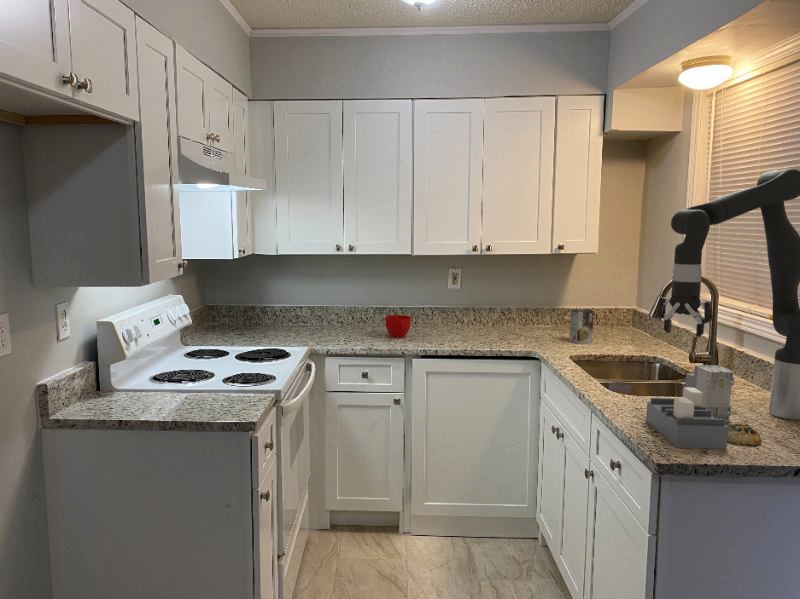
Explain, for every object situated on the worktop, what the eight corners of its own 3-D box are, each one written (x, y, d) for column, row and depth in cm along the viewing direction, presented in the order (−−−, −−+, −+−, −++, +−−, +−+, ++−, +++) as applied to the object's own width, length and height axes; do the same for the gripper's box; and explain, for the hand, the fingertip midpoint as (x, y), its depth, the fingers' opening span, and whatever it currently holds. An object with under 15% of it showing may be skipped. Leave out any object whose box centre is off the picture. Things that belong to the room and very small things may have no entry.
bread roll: (740, 430, 162) (743, 414, 161) (770, 450, 152) (773, 433, 150) (705, 433, 161) (707, 417, 159) (732, 453, 150) (735, 436, 149)
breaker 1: (692, 404, 165) (694, 387, 164) (701, 409, 160) (702, 392, 159) (682, 404, 165) (683, 387, 164) (690, 409, 160) (691, 392, 159)
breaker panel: (690, 422, 168) (692, 397, 167) (726, 448, 148) (729, 421, 147) (645, 421, 169) (647, 396, 168) (675, 447, 149) (678, 419, 148)
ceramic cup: (389, 341, 275) (390, 320, 274) (382, 334, 292) (382, 315, 290) (415, 340, 278) (416, 320, 277) (407, 333, 295) (407, 314, 293)
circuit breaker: (703, 405, 184) (707, 360, 182) (730, 421, 170) (734, 372, 168) (680, 405, 184) (684, 360, 182) (705, 420, 170) (710, 372, 168)
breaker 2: (684, 415, 155) (685, 397, 155) (692, 421, 150) (694, 403, 150) (673, 414, 155) (674, 397, 155) (681, 421, 150) (682, 402, 150)
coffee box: (584, 340, 286) (586, 308, 283) (592, 342, 280) (594, 310, 277) (568, 341, 283) (570, 309, 281) (576, 343, 277) (578, 311, 274)
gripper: (717, 280, 162) (713, 336, 164) (666, 277, 172) (663, 329, 174) (708, 282, 157) (704, 339, 159) (656, 278, 167) (653, 333, 169)
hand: (683, 334), depth 167 cm, fingers open, 8 cm apart
